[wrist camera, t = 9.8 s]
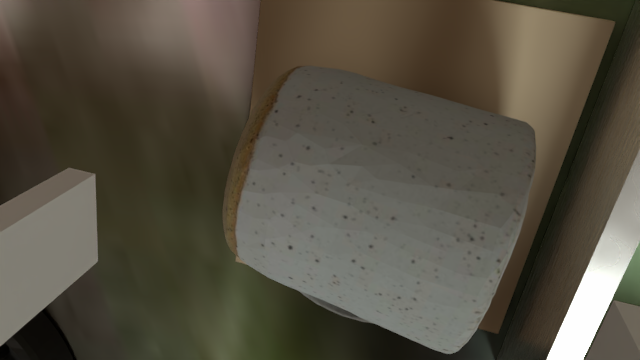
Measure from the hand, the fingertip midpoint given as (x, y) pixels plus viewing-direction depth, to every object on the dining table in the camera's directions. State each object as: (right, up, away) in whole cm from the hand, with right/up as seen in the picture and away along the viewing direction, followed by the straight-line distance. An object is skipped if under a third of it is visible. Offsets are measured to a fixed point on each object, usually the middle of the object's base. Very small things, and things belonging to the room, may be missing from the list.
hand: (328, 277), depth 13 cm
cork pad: (+3, +3, +8) cm, 9 cm away
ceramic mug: (+3, +2, +8) cm, 9 cm away
